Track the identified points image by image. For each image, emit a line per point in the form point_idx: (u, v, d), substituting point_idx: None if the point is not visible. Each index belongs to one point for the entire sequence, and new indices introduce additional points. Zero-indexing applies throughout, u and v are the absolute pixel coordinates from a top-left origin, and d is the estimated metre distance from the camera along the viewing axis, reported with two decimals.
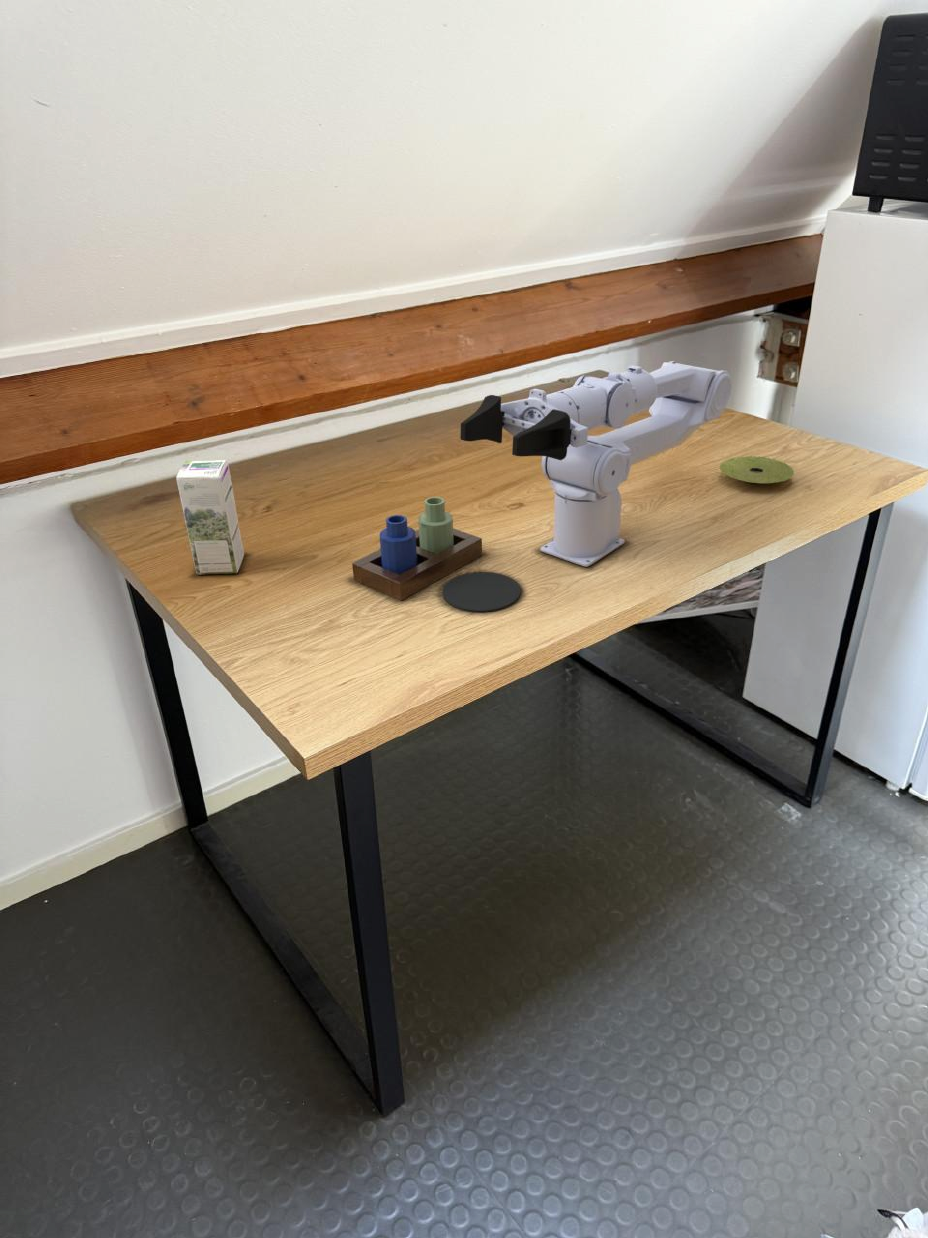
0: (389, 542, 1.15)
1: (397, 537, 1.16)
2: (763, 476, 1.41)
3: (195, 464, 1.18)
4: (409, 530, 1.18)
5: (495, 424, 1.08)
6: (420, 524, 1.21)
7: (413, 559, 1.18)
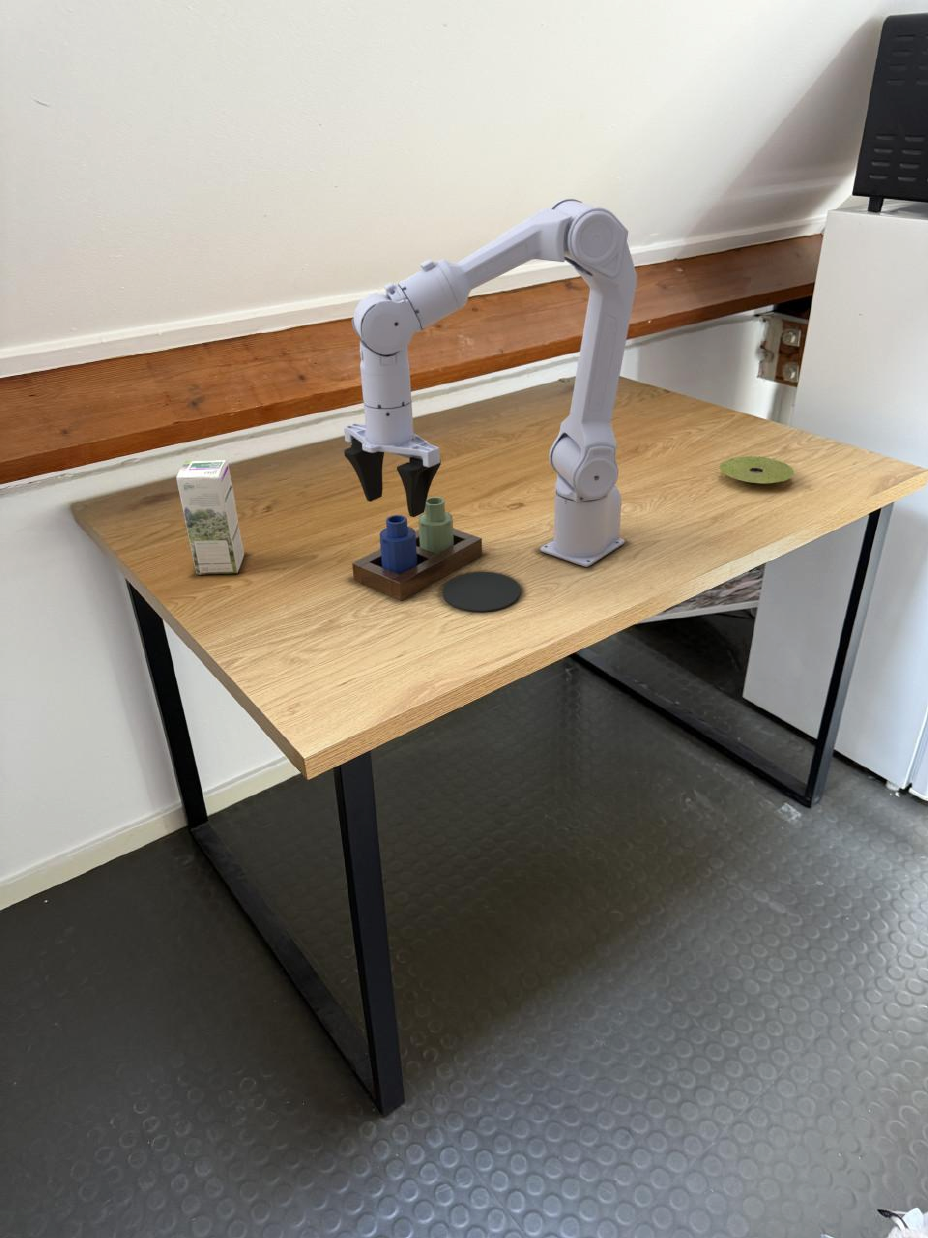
0: (389, 542, 1.15)
1: (397, 537, 1.16)
2: (763, 476, 1.41)
3: (195, 464, 1.18)
4: (409, 530, 1.18)
5: (373, 456, 1.14)
6: (420, 524, 1.21)
7: (413, 559, 1.18)
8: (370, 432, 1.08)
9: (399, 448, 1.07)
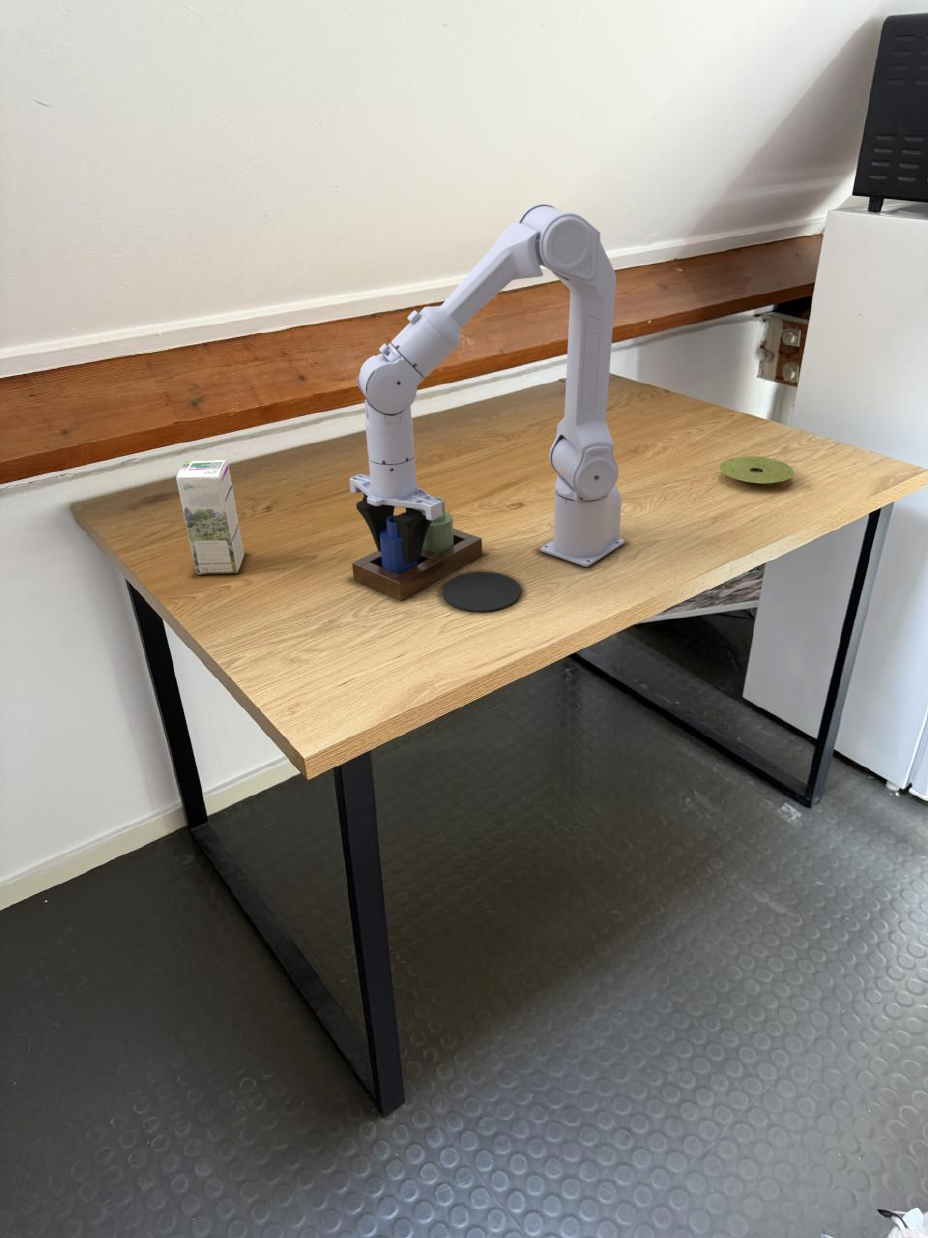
0: (389, 542, 1.15)
1: (397, 537, 1.16)
2: (763, 476, 1.41)
3: (195, 464, 1.18)
4: None
5: (384, 508, 1.17)
6: None
7: None
8: (374, 486, 1.12)
9: (403, 502, 1.11)
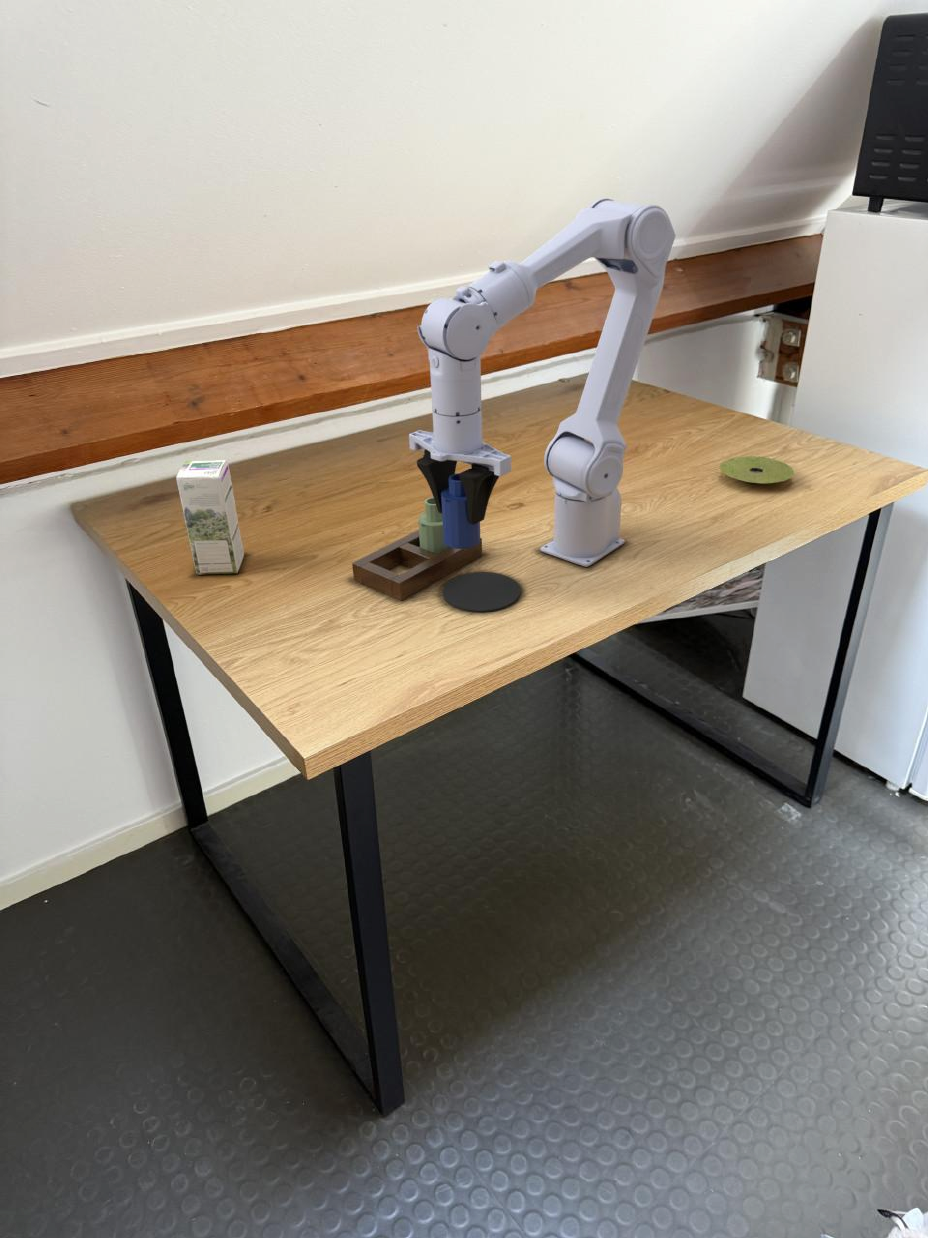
0: (452, 501, 1.09)
1: (460, 496, 1.09)
2: (763, 476, 1.41)
3: (195, 464, 1.18)
4: None
5: (446, 466, 1.10)
6: (420, 524, 1.21)
7: None
8: (439, 440, 1.05)
9: (469, 456, 1.04)
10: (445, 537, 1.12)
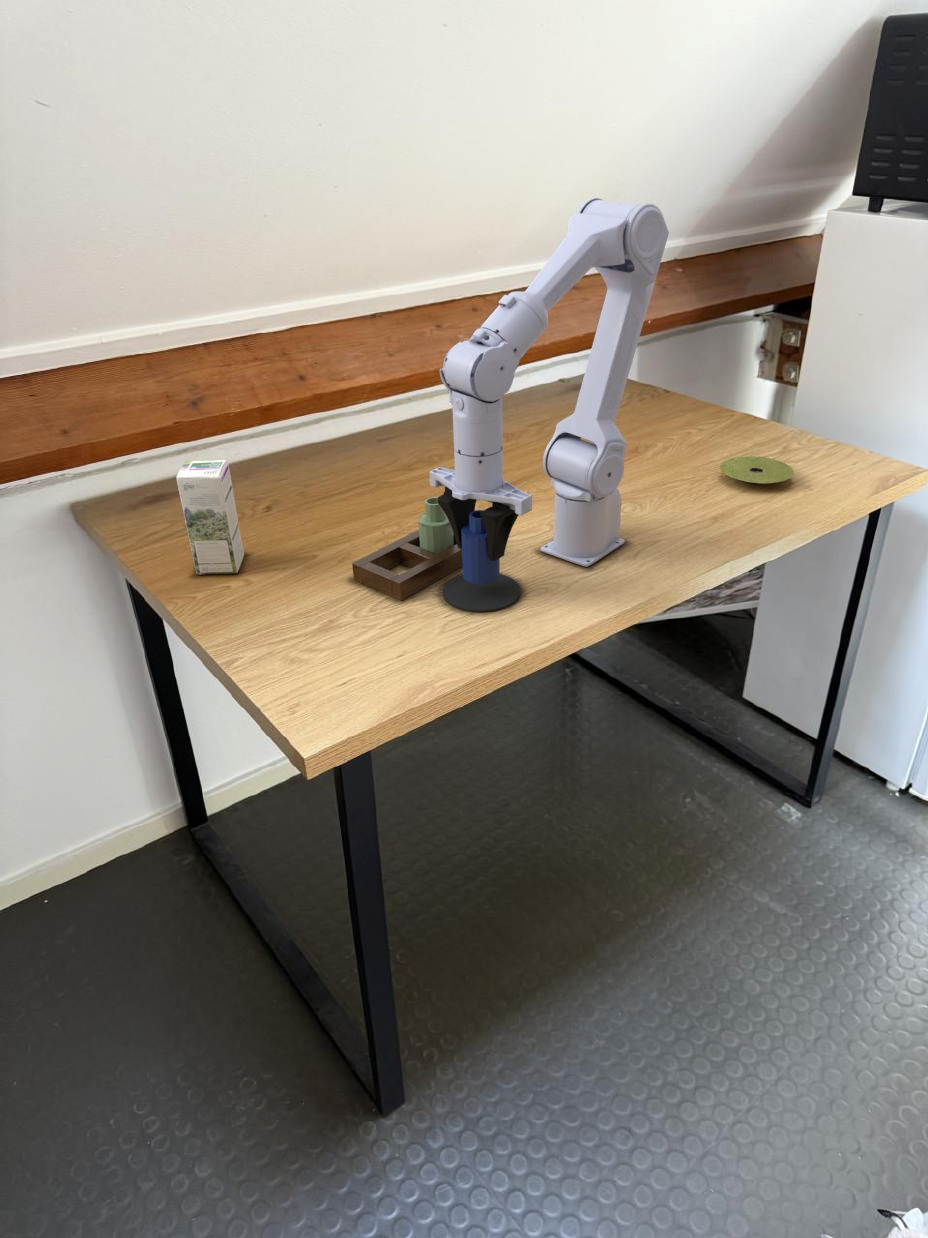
0: (473, 538, 1.10)
1: (481, 533, 1.10)
2: (763, 476, 1.41)
3: (195, 464, 1.18)
4: None
5: (466, 503, 1.12)
6: (420, 524, 1.21)
7: None
8: (460, 479, 1.06)
9: (491, 496, 1.05)
10: (465, 572, 1.14)
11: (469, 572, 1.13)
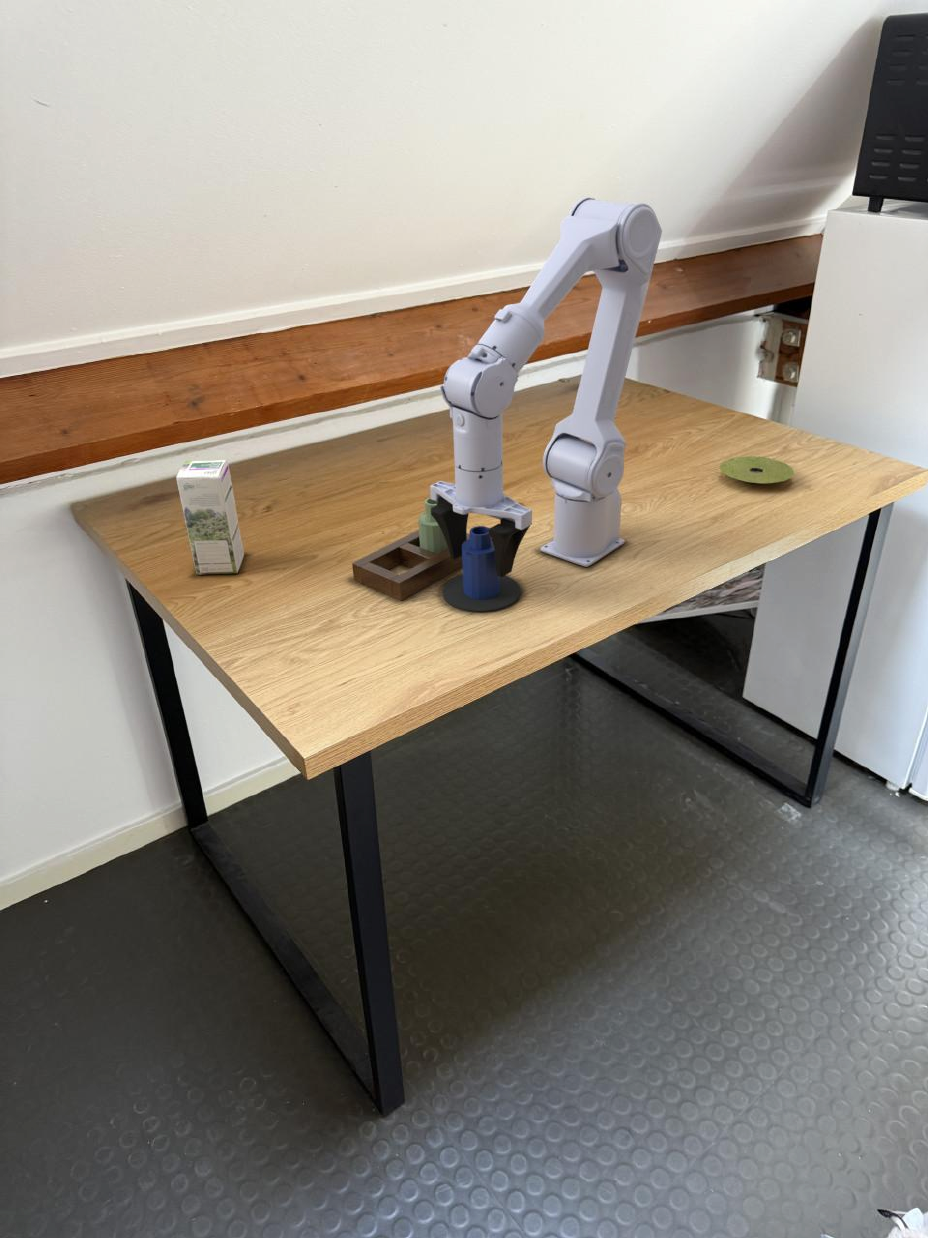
0: (473, 554, 1.11)
1: (481, 549, 1.12)
2: (763, 476, 1.41)
3: (195, 464, 1.18)
4: (492, 542, 1.13)
5: (459, 514, 1.14)
6: (420, 524, 1.21)
7: (496, 572, 1.13)
8: (461, 494, 1.07)
9: (491, 510, 1.06)
10: (465, 588, 1.15)
11: (469, 587, 1.14)
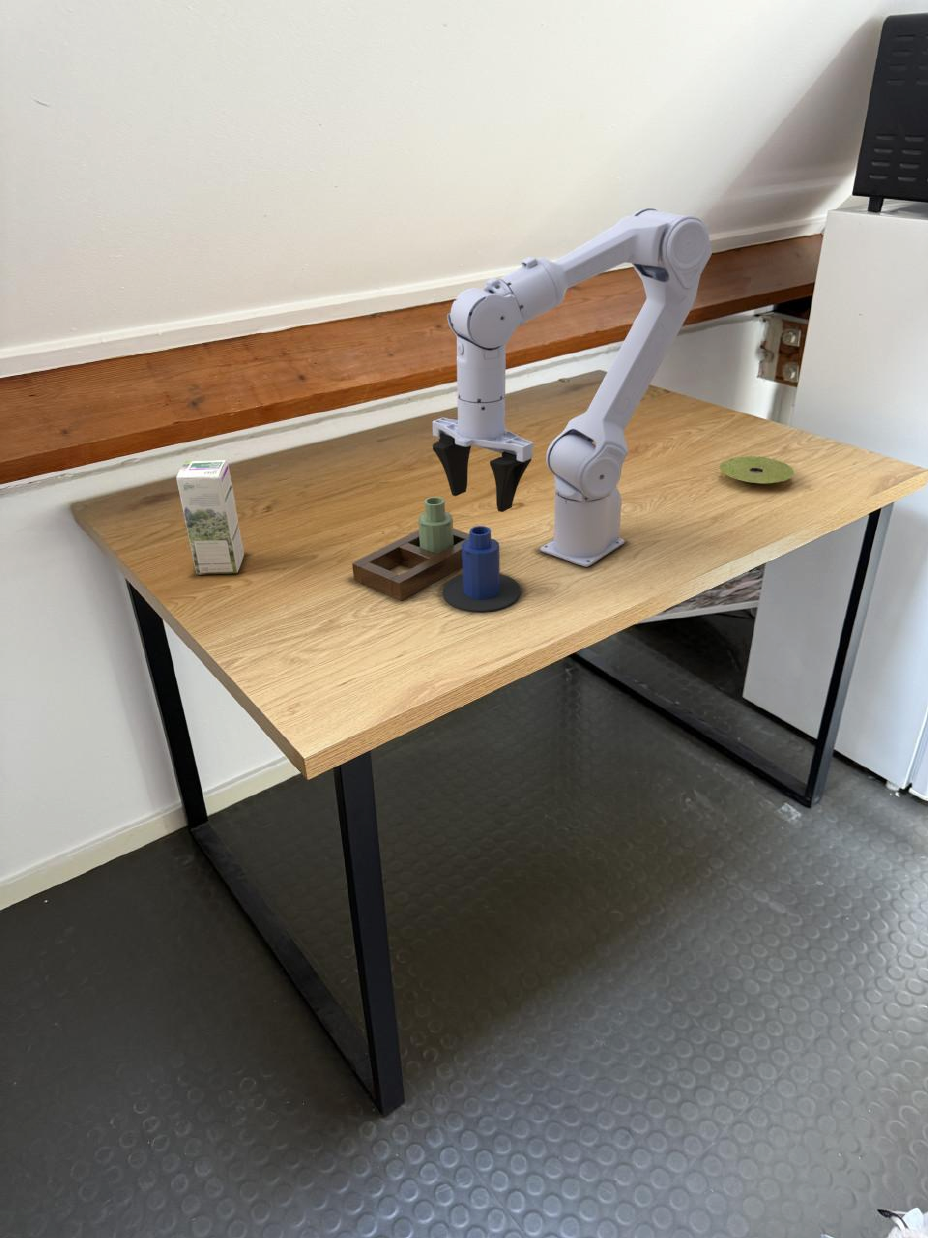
0: (473, 554, 1.11)
1: (481, 549, 1.12)
2: (763, 476, 1.41)
3: (195, 464, 1.18)
4: (492, 542, 1.13)
5: (460, 450, 1.15)
6: (420, 524, 1.21)
7: (496, 572, 1.13)
8: (463, 426, 1.08)
9: (493, 442, 1.07)
10: (465, 588, 1.15)
11: (469, 587, 1.14)
